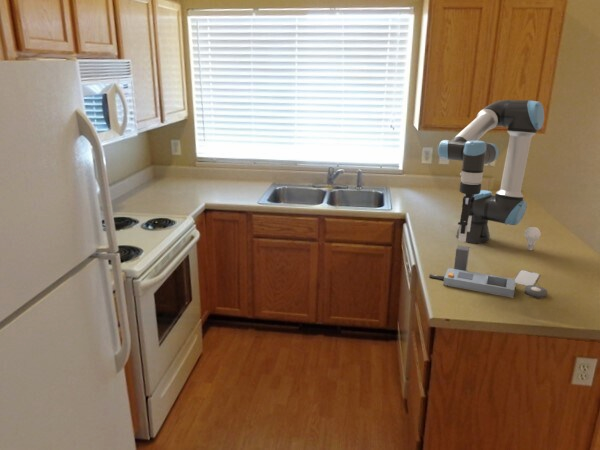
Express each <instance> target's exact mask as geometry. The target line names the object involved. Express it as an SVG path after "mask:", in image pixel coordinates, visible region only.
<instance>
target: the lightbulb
mask: <svg viewBox="0 0 600 450" xmlns="http://www.w3.org/2000/svg"><path fill="white" fill-rule="evenodd" d="M541 235H542V233H541V231H540V229H539V228H538V227H536V226H530V227H527V228H526V229H525V231H524V237H525V239H526V243H527V245H526V250H527V251H534V247H535V245H536V242H537V241H538V240H540V238H541Z"/></svg>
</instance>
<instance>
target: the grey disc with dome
mask: <svg viewBox="0 0 600 450" xmlns="http://www.w3.org/2000/svg"><path fill="white" fill-rule="evenodd" d="M547 293H548V291H547V289H546V288H545V287H542V286H539V285H527V286H524V294H525V295H526V296H528V297H530V298H535V299H544V298H547Z"/></svg>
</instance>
